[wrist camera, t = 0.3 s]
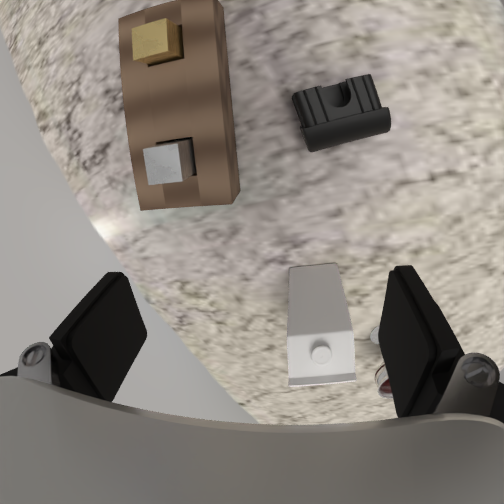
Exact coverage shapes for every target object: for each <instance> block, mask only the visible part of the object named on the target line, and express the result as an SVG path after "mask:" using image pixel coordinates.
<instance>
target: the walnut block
mask: <svg viewBox="0 0 504 504" xmlns="http://www.w3.org/2000/svg"><path fill="white" fill-rule="evenodd" d="M164 18H167V19H168V20H170V21H172V22H173V23H175V24H176V25H178V26H179V27H181V28H182V32H183V46H184V58H185V59H180V60H176V61H171V62H167V63H163V64H159V65H155V66H153V65H150V64H146V63H142V62H137V61H133V48H132V28H135V27H138V26H141V25H144V24H147V23H151V22H154V21H157V20H161V19H164ZM119 50H120V67H121V80H122V92H123V102H124V111H125V119H126V127H127V135H128V142H129V148H130V155H131V161H132V167H133V173H134V179H135V184H136V189H137V195H138V200H139V205H140V210H141V211H142V210H153V209H166V208H179V207H193V206H208V205H226V204H232V203H233V202H234V200H235V198H236V197H237V195H238V194H239V192H240V183H239V173H238V163H237V152H236V142H235V131H234V121H233V110H232V100H231V89H230V78H229V67H228V56H227V45H226V34H225V23H224V11H223V7H222V5H221V4H220V3H219V1H218V0H175V1H171V2H167V3H164V4H160V5H157V6H154V7H150V8H147V9H144V10H141V11H138V12H135V13H132V14H130V15H127V16H124V17H122V18H119ZM186 137H192V138H193V146H194V154H195V162H196V170H197V172H196V173H194V174H193V175H191V176H190V177H188V178H187V179H186V180H184V181H182V182H172V183H163V184H155V185H149V184H148V178H147V172H146V166H145V160H144V153H143V149H145V148H148V147H151V146H154V145H158V144H161V143H165V142H172V141H175V139H179V138H186Z"/></svg>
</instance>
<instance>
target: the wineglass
mask: <svg viewBox="0 0 504 504" xmlns="http://www.w3.org/2000/svg"><path fill="white" fill-rule="evenodd" d="M379 326H380V325H379ZM379 326H377V327H376V328H375V329H374V330H373V331H372V332H371V335H370V339H371V341H372V342H373V343H376V344H379V341H378V331H379ZM375 383H376V385H377V387H378V394H379V395H380V396H381V397H384V398H393V395H392V391H391V387H390V383H389V379H388V375H387V371H386V367H385V363H384V362H383V363H382V364H381V365H380V366H379V367H378V369H377V371H376V374H375Z"/></svg>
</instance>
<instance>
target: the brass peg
mask: <svg viewBox="0 0 504 504" xmlns="http://www.w3.org/2000/svg"><path fill="white" fill-rule="evenodd" d="M132 48H133V61H137V62H142V63H146V64H150V65H153V66H155V65H159V64H163V63H167V62H171V61H176V60H180V59H185V58H184V46H183V32H182V28H181V27H179V26H178V25H176V24H175V23H173V22H172V21H170V20H168V19H167V18H164V19H161V20H157V21H154V22H151V23H147V24H144V25H141V26H138V27H135V28H132Z"/></svg>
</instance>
